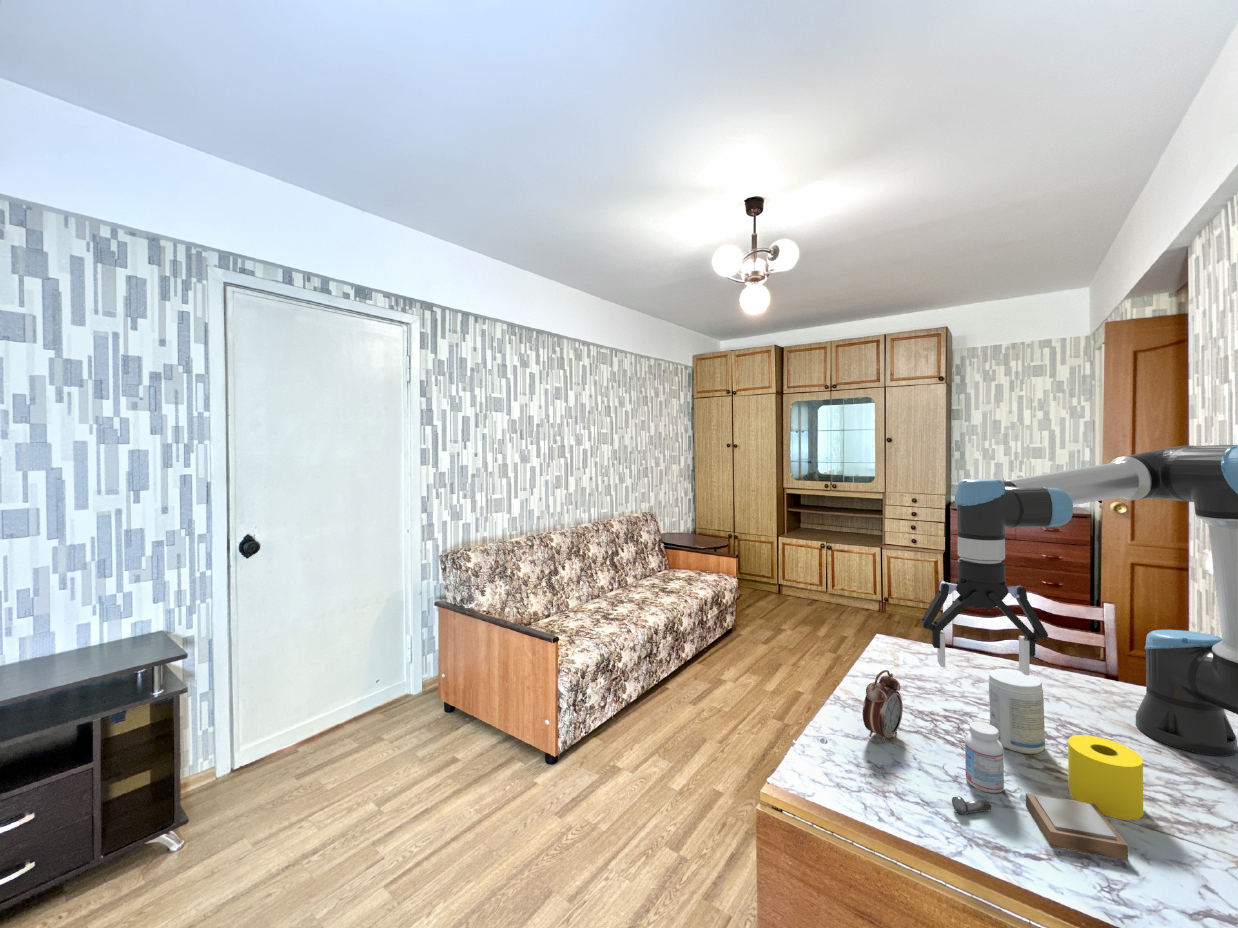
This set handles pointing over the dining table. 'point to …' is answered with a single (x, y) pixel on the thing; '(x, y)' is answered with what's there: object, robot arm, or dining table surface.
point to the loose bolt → (969, 805)
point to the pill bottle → (984, 758)
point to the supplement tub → (1017, 710)
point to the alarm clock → (883, 706)
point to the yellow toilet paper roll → (1106, 776)
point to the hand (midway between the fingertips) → (981, 668)
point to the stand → (1076, 826)
